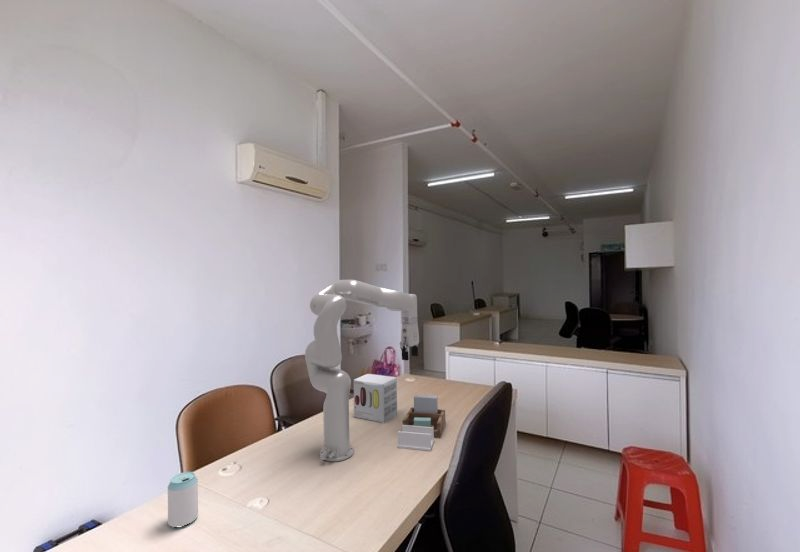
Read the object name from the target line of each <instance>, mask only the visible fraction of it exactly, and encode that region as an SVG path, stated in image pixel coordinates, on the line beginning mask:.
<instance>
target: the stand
mask: <svg viewBox="0 0 800 552" xmlns="http://www.w3.org/2000/svg"><path fill="white" fill-rule="evenodd" d="M434 431H435V429H434V427H422V426H410V425H403V424H402V425H401V430H400V431H397V445H396V446H397V447H396V448H397V449H404V450H415V451H422V452H423V451H424V452H426V451H427V452H432V448H433V445H434V443H435V438H434Z"/></svg>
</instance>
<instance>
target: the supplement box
mask: <svg viewBox="0 0 800 552" xmlns="http://www.w3.org/2000/svg"><path fill="white" fill-rule="evenodd" d="M397 379H398V378H397V376H391V375H390V376H389V375H382V374H375V373H374V374H373V373H366V374H364V375H362V376H359V377H357V378H355V379H353V418H358V419H363V420H368V421H372V422H376V423H382V424H385V423H387V422H388V421H389V420H390V419H393V418H394V417H396V416H397V415H398V387H397V385H398V383H397Z"/></svg>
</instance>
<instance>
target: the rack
mask: <svg viewBox="0 0 800 552" xmlns="http://www.w3.org/2000/svg"><path fill="white" fill-rule="evenodd" d="M414 417H416V418H431V425H433V426H434V439H441V437H442V433H443V431H444V428H445V426H446V410H445V409H441V408H438V414H434V413H420V412H414V407H410V409H409V410H408V411H407V413H406V414H405V415H404V417H403V419H402V420H401V421H402V425H410V426H413V424H414Z"/></svg>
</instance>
